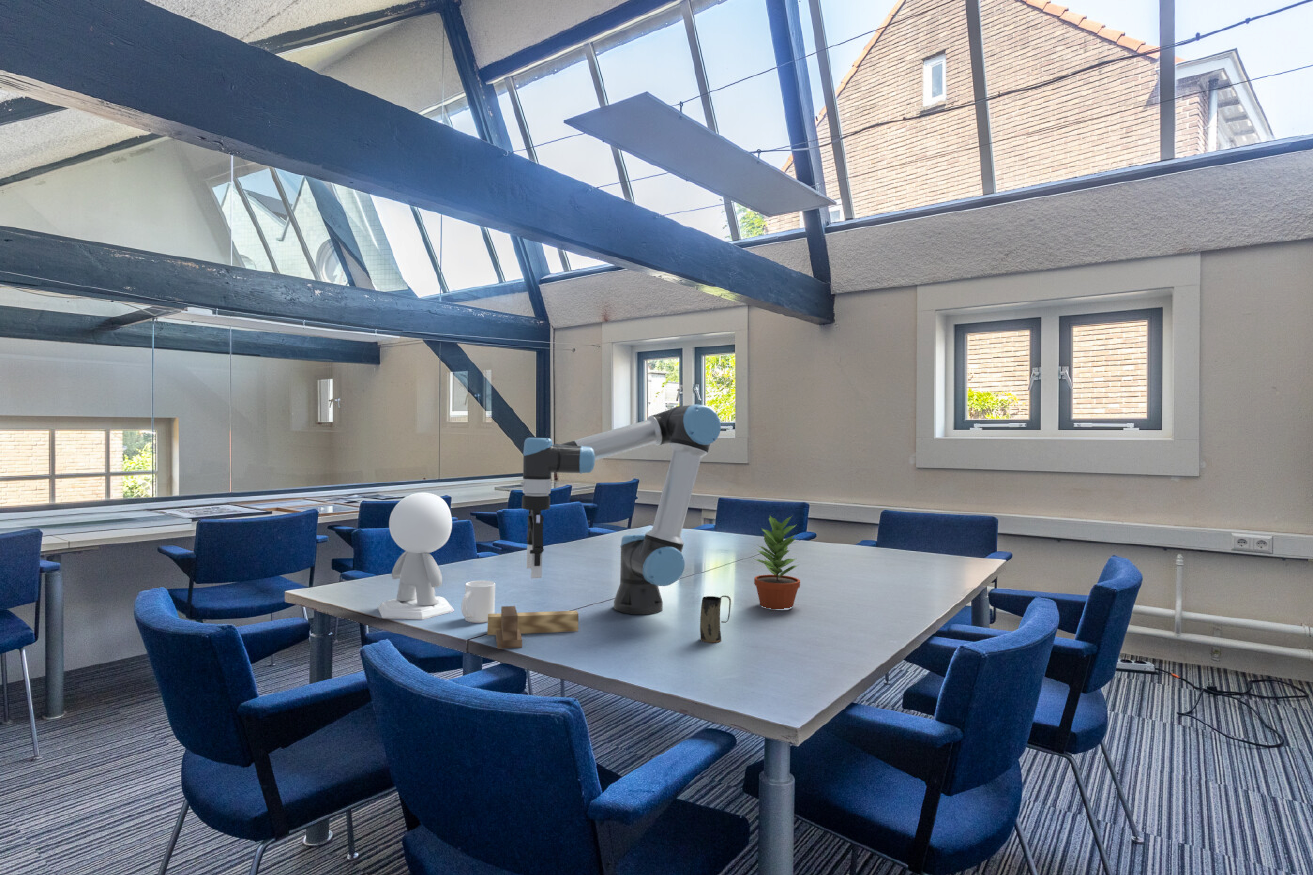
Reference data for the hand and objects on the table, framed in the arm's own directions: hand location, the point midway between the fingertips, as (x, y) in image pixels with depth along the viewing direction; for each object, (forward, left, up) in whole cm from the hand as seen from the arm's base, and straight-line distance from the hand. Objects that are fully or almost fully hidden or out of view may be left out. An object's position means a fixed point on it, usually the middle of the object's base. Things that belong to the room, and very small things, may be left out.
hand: (533, 573), depth 187 cm
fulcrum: (+7, +9, -16) cm, 19 cm away
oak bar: (0, 0, -16) cm, 16 cm away
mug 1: (+15, -13, -16) cm, 25 cm away
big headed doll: (+32, -28, -16) cm, 45 cm away
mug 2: (-46, +17, -16) cm, 52 cm away
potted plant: (-78, -14, -16) cm, 81 cm away
